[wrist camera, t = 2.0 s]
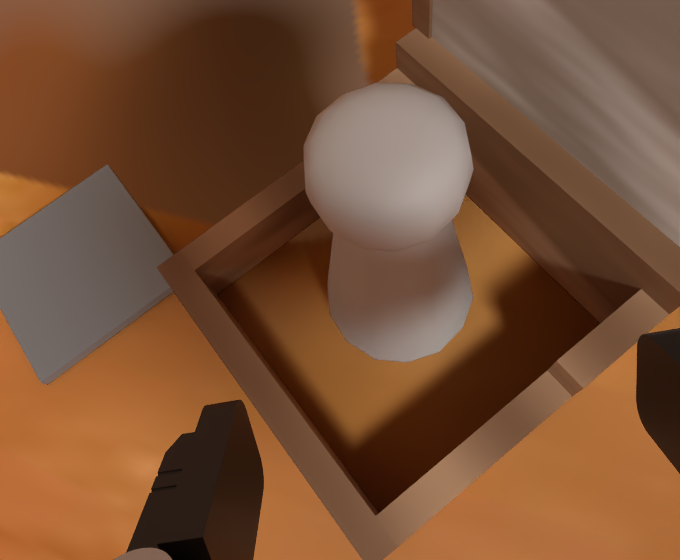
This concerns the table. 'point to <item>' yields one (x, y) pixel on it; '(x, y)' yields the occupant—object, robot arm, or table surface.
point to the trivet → (80, 273)
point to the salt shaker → (392, 217)
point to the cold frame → (497, 214)
